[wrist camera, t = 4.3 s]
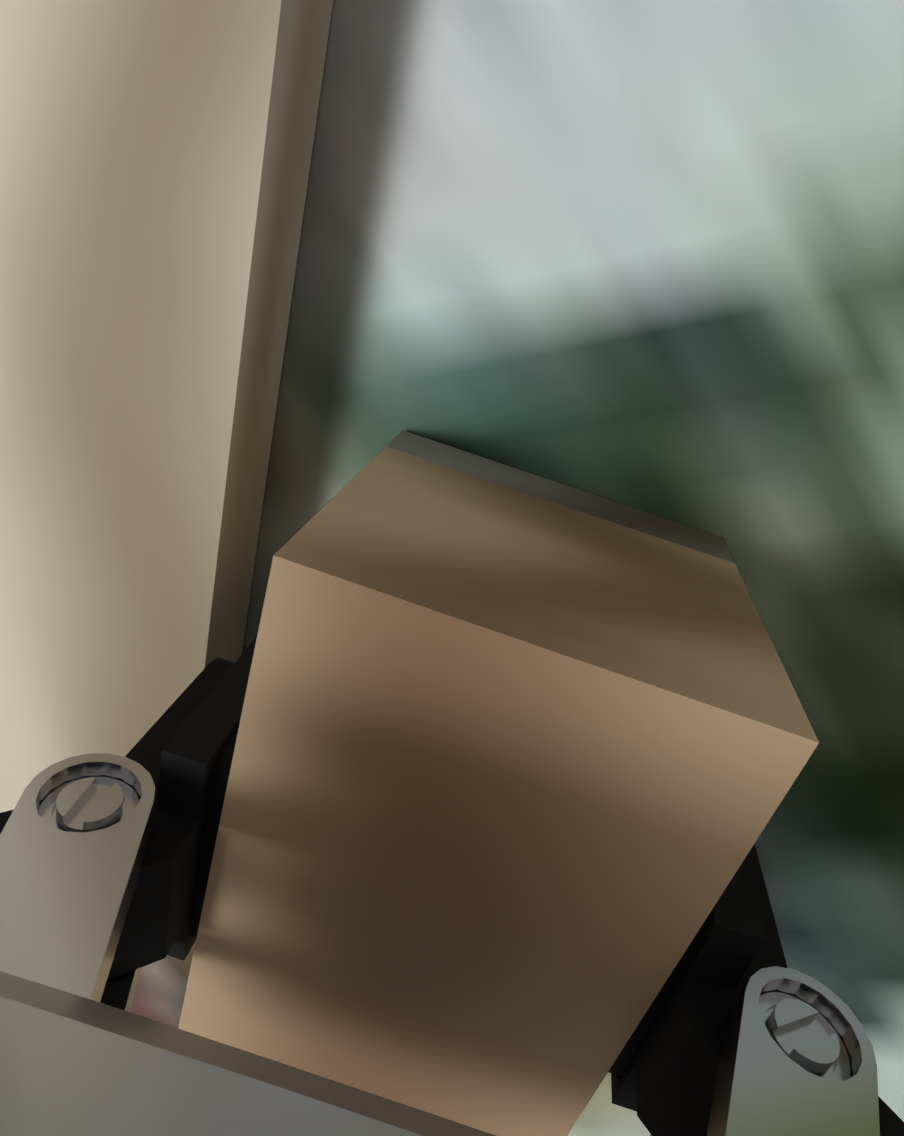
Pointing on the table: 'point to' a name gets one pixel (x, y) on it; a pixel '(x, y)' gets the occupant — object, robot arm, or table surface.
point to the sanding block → (484, 787)
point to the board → (139, 346)
